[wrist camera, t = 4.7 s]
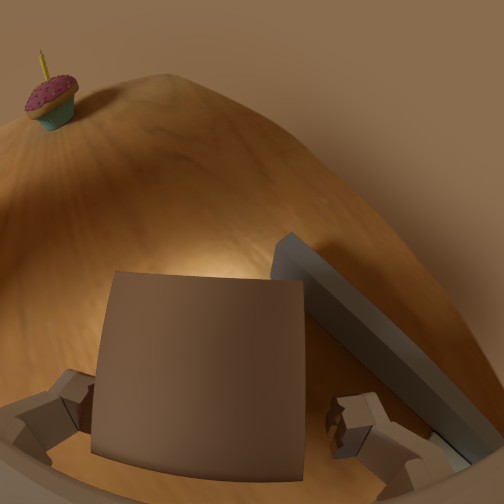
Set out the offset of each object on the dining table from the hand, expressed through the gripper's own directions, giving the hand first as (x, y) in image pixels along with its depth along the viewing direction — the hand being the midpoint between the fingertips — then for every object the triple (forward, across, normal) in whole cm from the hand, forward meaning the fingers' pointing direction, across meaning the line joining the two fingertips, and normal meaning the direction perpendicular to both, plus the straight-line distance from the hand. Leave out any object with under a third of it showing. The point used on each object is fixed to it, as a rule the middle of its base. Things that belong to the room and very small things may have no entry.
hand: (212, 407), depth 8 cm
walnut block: (+5, 0, +4) cm, 7 cm away
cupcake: (+26, +27, -17) cm, 41 cm away
